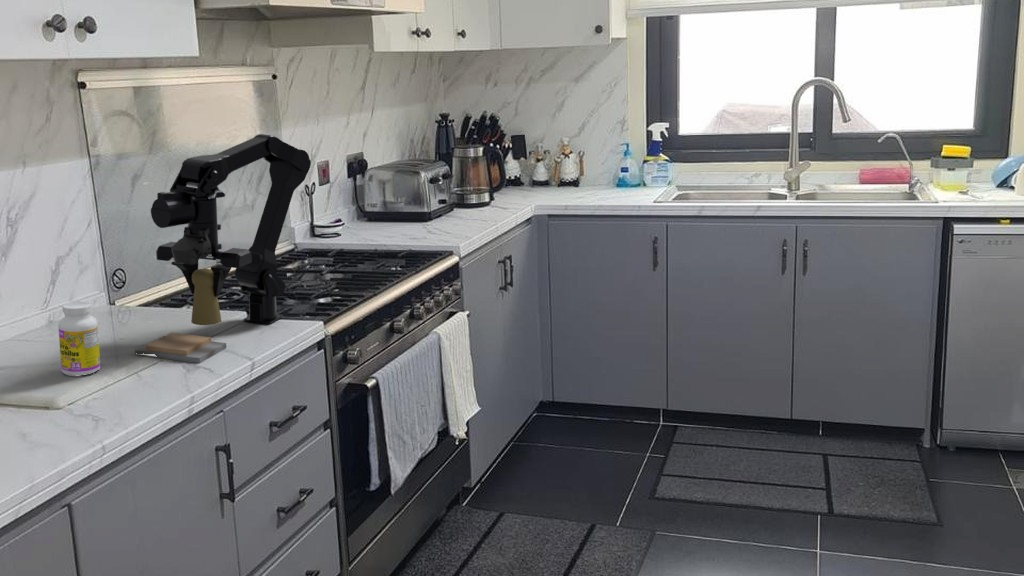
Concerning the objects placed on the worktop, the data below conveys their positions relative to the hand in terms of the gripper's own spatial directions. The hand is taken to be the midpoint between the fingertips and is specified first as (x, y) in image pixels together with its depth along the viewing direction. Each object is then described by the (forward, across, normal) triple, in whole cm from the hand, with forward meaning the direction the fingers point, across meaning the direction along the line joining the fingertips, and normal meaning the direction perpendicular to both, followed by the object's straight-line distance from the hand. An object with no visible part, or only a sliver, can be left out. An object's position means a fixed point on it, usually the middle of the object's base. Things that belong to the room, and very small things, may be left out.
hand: (205, 295), depth 203 cm
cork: (+6, 0, 0) cm, 6 cm away
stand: (+9, 0, -10) cm, 14 cm away
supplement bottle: (+9, -10, -27) cm, 30 cm away
